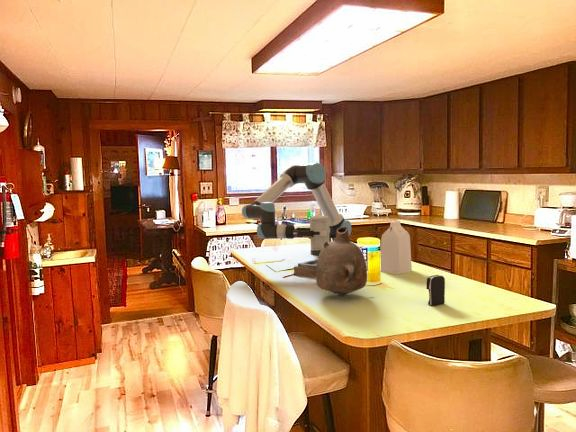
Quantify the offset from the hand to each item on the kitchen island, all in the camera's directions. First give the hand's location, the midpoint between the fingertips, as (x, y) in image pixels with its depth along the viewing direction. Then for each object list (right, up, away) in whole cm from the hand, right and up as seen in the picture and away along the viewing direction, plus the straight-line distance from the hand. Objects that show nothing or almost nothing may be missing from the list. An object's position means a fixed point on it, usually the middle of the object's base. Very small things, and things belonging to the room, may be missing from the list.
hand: (328, 231), depth 246 cm
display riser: (-3, -22, +3) cm, 22 cm away
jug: (+2, -26, -42) cm, 50 cm away
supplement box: (-4, -9, +2) cm, 10 cm away
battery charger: (+37, -27, -58) cm, 74 cm away
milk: (+36, -21, +3) cm, 41 cm away
